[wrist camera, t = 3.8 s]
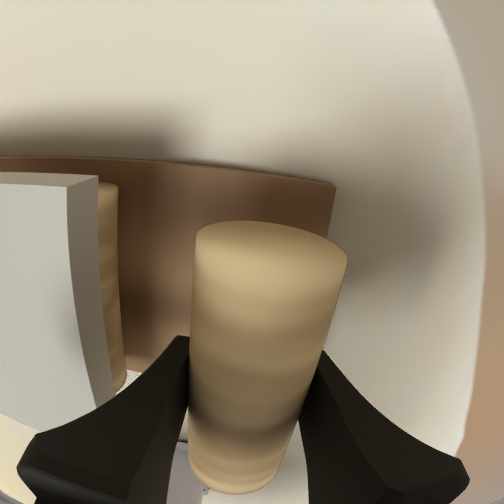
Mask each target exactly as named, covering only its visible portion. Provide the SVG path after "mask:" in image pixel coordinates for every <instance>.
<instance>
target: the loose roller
mask: <svg viewBox="0 0 504 504" xmlns="http://www.w3.org/2000/svg"><path fill="white" fill-rule="evenodd" d="M347 261H348V259H347V255H346V254H345V252H344V251H343V250H342V249H341V248H340V247H338V246H337V245H336V244H334V243H333V242H331V241H329V240H327V239H325V238H323V237H321V236H318V235H316V234H313V233H311V232H308V231H305V230H301V229H298V228H294V227H290V226H285V225H280V224H274V223H268V222H258V221H226V222H219V223H214V224H211V225H208V226H206V227H204V228H202V229H201V230H199V232H198V233H197V236H196V246H195V258H194V272H193V287H192V304H191V322H190V345H189V375H188V462H189V466H190V468H191V470H192V472H193V474H194V475H195V476H196V478H197V479H198V480H199V481H200V482H202V483H203V484H204V485H206V486H207V487H209V488H211V489H213V490H215V491H218V492H221V493H225V494H236V495H239V494H247V493H251V492H254V491H257V490H259V489H261V488H263V487H264V486H266V485H267V484H268V483H269V482H270V481H271V480H272V479H273V477H274V476H275V474H276V472H277V469H278V467H279V465H280V462H281V460H282V458H283V455H284V453H285V450H286V448H287V446H288V443H289V441H290V438H291V436H292V433H293V431H294V428H295V425H296V423H297V420H298V418H299V415H300V412H301V410H302V407H303V404H304V401H305V399H306V396H307V393H308V390H309V388H310V385H311V382H312V379H313V376H314V373H315V370H316V367H317V364H318V361H319V358H320V355H321V352H322V349H323V346H324V343H325V339H326V336H327V333H328V330H329V327H330V323H331V320H332V316H333V313H334V310H335V306H336V303H337V299H338V296H339V292H340V288H341V285H342V281H343V277H344V274H345V270H346V266H347Z"/></svg>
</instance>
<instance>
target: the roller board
mask: <svg viewBox="0 0 504 504" xmlns="http://www.w3.org/2000/svg"><path fill="white" fill-rule="evenodd" d="M0 172H28V173H58V174H79V175H96V176H98V249H99V269H100V284H101V296H102V307H103V316H104V325H105V333H106V340H107V348H108V354H109V361H110V367H111V373H112V378H113V384H114V389H115V393H116V392H118V391H119V390H120V389H121V388H122V386H123V385H124V383H125V381H126V378H127V371H126V369H127V370H132V371H137V372H142V373H143V372H144V371H145V370H147V369H148V368H149V366H150V365H151V364H152V363H153V362H154V361H155V360H156V359H157V358H158V357H159V356H160V355H161V354H162V352H163V351H164V350H165V349H166V348H167V347H168V345H169V344H170V343H171V341H172V340H173V339H174V337H176V336H177V335H182V336H189V337H190V322H191V304H192V287H193V272H194V258H195V246H196V236H197V233H198V232H199V230H201V229H202V228H204V227H206V226H208V225H211V224H214V223H219V222H226V221H258V222H268V223H274V224H280V225H285V226H290V227H294V228H298V229H301V230H305V231H308V232H311V233H313V234H316V235H318V236H321V237H323V238H325V239H326V236H327V231H328V226H329V222H330V217H331V212H332V207H333V202H334V197H335V192H336V186H334V185H333V184H331V183H326V182H321V181H315V180H309V179H303V178H297V177H291V176H284V175H278V174H271V173H264V172H257V171H250V170H242V169H234V168H226V167H218V166H209V165H199V164H189V163H179V162H168V161H155V160H142V159H126V158H108V157H82V156H1V157H0Z"/></svg>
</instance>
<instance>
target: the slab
mask: <svg viewBox="0 0 504 504" xmlns="http://www.w3.org/2000/svg"><path fill="white" fill-rule="evenodd" d="M115 396H116V394H115V389H114V384H113V378H112V373H111V367H110V361H109V354H108V348H107V340H106V333H105V325H104V316H103V307H102V296H101V284H100V269H99V249H98V176H96V175H79V174H58V173H28V172H0V413H2V414H4V415H6V416H8V417H10V418H12V419H14V420H16V421H18V422H20V423H23V424H25V425H27V426H29V427H32V428H34V429H36V430H39V431H41V432H44V431H47V430H50V429H53V428H56V427H59V426H62V425H64V424H66V423H69V422H71V421H73V420H75V419H77V418H79V417H81V416H83V415H85V414H87V413H89V412H91V411H93V410H94V409H96V408H98V407H99V406H101V405H103V404H104V403H106V402H107V401H109V400H110V399H112V398H113V397H115Z"/></svg>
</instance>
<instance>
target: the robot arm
mask: <svg viewBox="0 0 504 504" xmlns="http://www.w3.org/2000/svg"><path fill="white" fill-rule="evenodd" d="M189 345H190V337H189V336H182V335H177V336H176V337H174V339H173V340H172V341H171V343H170V344H169V345H168V347H167V348H166V349H165V350H164V351H163V352H162V354H161V355H160V356H159V357H158V358H157V359H156V360H155V361H154V362H153V363H152V364H151V365H150V366H149V368H148V369H147V370H145V371H144V372H143V373H142V374H141V375H140V376H139V377H138V378H137V379H136V380H135V381H134V382H132V383H131V384H130V385H129V386H128V387H126V388H125V389H124V390H123V391H121V392H120V393H119V394H117V395H116V396H115V397H113V398H112V399H110V400H109V401H107V402H106V403H104V404H103V405H101V406H99V407H98V408H96V409H94V410H93V411H91V412H89V413H87V414H85V415H83V416H81V417H79V418H77V419H75V420H73V421H71V422H69V423H66V424H64V425H62V426H59V427H56V428H53V429H50V430H47V431H44V432H41V433H38V434H36V435H35V436H34V438H33V439H32V440H31V442H30V443H29V445H28V446H27V448H26V450H25V452H24V454H23V456H22V457H21V459H20V461H19V463H18V465H17V467H16V468H17V472H18V475H19V476H20V478H21V479H22V481H23V482H24V483H25V484H26V485H27V487H28V488H29V489H30V490H31V491H32V492H33V494H34V495H35V496H36V497H37V498H36V501H35V503H34V504H202V497H203V495H207V494H208V487H207V486H206V485H204V484H203V483H202V482H200V481H199V480H198V479H197V478H196V476H195V475H194V474H193V472H192V470H191V468H190V466H189V462H188V443H184V442H178V438H179V434H180V431H181V428H182V424H183V421H184V417H185V414H186V410H187V407H188V375H189ZM298 421H299V426H300V432H301V437H302V442H303V447H304V452H305V458H306V464H307V473H308V491H309V504H449V503H451V502H452V501H453V500H454V499H455V498H456V497H458V496H459V495H460V494H461V493H462V492H463V491H464V490H465V489H466V487H467V486H468V484H469V481H470V479H469V476H468V474H467V472H466V470H465V468H464V466H463V464H462V462H461V460H460V459H458V458H455V457H453V456H451V455H448V454H446V453H443V452H441V451H438V450H436V449H434V448H432V447H430V446H428V445H427V444H425V443H423V442H421V441H419V440H418V439H416V438H414V437H413V436H411V435H409V434H408V433H406V432H405V431H403V430H402V429H401V428H399V427H398V426H396V425H395V424H394V423H392V422H391V421H390V420H388V419H387V418H386V417H385V416H384V415H382V414H381V413H380V412H379V411H378V410H377V409H376V408H374V407H373V406H372V405H371V404H370V403H369V402H368V401H367V400H366V399H365V398H364V397H363V396H362V395H361V394H360V393H359V392H358V391H357V389H356V388H355V387H354V386H353V385H352V384H351V383H350V382H349V381H348V379H347V378H346V377H345V376H344V375H343V373H342V372H341V371H340V370H339V369H338V367H337V366H336V365H335V364H334V362H333V361H332V360H331V359H330V357H329V356H328V355H327V354H326V353H325V351H324V350H322V352H321V355H320V358H319V361H318V364H317V367H316V370H315V373H314V376H313V379H312V382H311V385H310V388H309V390H308V393H307V396H306V399H305V401H304V404H303V407H302V410H301V412H300V415H299V418H298ZM0 504H23V503H21V502H19V501H17V500H15V499H13V498H11V497H10V496H8V495H6V494H4V493H3V492H1V491H0ZM492 504H504V497H503V498H501V499H499V500H497V501H495V502H494V503H492Z"/></svg>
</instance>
